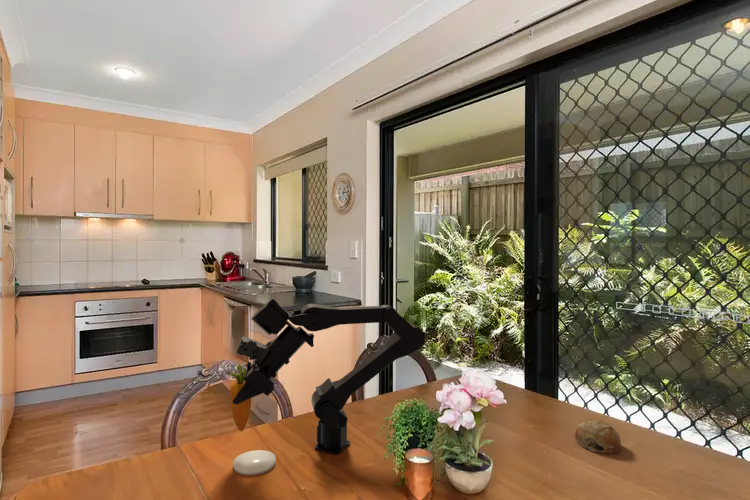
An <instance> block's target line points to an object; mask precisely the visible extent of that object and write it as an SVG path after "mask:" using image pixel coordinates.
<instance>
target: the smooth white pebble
mask: <svg viewBox="0 0 750 500" xmlns="http://www.w3.org/2000/svg"><path fill="white" fill-rule="evenodd" d="M276 459H277V458H276V455H275V454H274V453H273V452H271V451H269V450H261V449H257V450H251V451H246V452H243V453H241V454H239V455H238V456H236V457H235V459H234V460H233V467H232V468H233V471H234V472H235V473H237V474H240V475H244V476H254V475H255V476H256V475H261V474H264V473H266V472H268V471H270V470H272V469H273V468H274V467H275V465H276V462H277V461H276Z"/></svg>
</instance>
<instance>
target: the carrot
mask: <svg viewBox="0 0 750 500" xmlns="http://www.w3.org/2000/svg"><path fill="white" fill-rule="evenodd" d="M236 367H237V371H238V373H234V372H230V373H229V375H230V376H231V377H233V378H234V379H235V380H236V381H234V382H232V383H231V384H230V386H229V387H230V388H229V392H230V393H229V394H230V395H229V396H230V397H229V398H230V407H231V413H232V418H233V421H234V423H235V426H236V428H237V429H238V430H239V432H243V431H244V430H245V428H246V426H247V424H248V421H249V418H250V414H251V410H252V409H251V408H252V398H250V399H248V400H245V401H243V402H241V403H239V404H234V403H233V399H234V398H235V396H236V395H237V394H238V392H239V391H240V389H241V388H242V386H243V385H244V383H245V382H246V381H244V378H245V375H246V372H247V368H242V367H243V366H242V365H241V364H240V365H239V364H238V365H237V366H236Z"/></svg>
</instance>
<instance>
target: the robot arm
mask: <svg viewBox="0 0 750 500" xmlns="http://www.w3.org/2000/svg"><path fill="white" fill-rule="evenodd" d="M250 320H252V321H253V322H254V323H255V324H256V325H258V327H260V328H261V330H263V331H264V332H265V333H267V335H269V336H270V335H277V334H278V335H277V336H276V337H275V339H273V340H271V341H268V342H267V343H266V344H264V343H262V342H260V341H257V340H254V339H252V338H249V337H247V336H242V337H241V339H240V341H239V344H238V345H237V348H236V354H237V355H240V356H244V357H248V360H249V361H247V362H246V363H247V364H246V375H245V378H244V381H246V382H245V383H244V385H243V386H242V388H241V389H240V391H239V392H238V394H237V395H236V396H235V398H234V399H233V403H234V404H239V403H241V402H243V401H245V400H248V399H250V398H251V399H252V398H255V397H257V396H259V395H261V394H264V395H265V396H267V397H268V396H270V394H272V392H273V391H274V390H275V378H276V377H277V376H278V374H277V373H278V372H279V371H280V370H281V369H282V368H283V367H284V365H286V366H288V364H289V363H290V360H291V358H292V357H293V356H294V355H295V354H296V353H297V352H298V350H300V348H301V347H303V345H305V344H307V345H309V346H310V348H313V347H314V338H315V335H314V333H308V332H318V331H324V330H326V329H327V330H328V329H330V328H333V327H336V326H339V325H356V324H357V325H358V324H359V325H360V324H376V323H385V324H386V325H387V326H388V327H389V328H390V329H391V330H392V331H393V332H392V333H391V334H390V336H389V338H388V339H387V341H386V343H385V344H384V345H382V346H381V347H379V349H378V350H376V351H375V352H374V353H372V354H371V355H370V356H369V357H367V358H366V359H365V360H363V361H362V362H361V363H360V364H358V365H357V366H355V368H353V369H352V370H351V371H349V372H348V373H347V374H345V375H344V376H343V377H342V378H340V379H338V380H335V381H332V380H331V378H330V377H328V378H327V379H326V380H325V381H324V382H323V383H322V384H319V386H315V391H313V393H312V395H311V400H310V401H311V405H312V406H311V407H312V409H313V412H314V415H315V416H316V417H317V419H319V420H318V421H317V422H318V423H317V424H318V425H317V426H316V445H314V450H319V451H323V452H327V453H331V454H335V455H338V454H340V453H341V452H342V451H344V449H345V448H347V447H348V446H349V445H350V444H351V441H350V440H348V439H347V438H348V420H349V418H348V417H347V415H346V414H347V413H346V412H345V410H344V407H345V405H346V404H347V403H348V401H349V398H351V396H352V395H353V394H354V393H356V392H357V391H358V390H359V389H360V388H362V387H363V386H365V385H366V384H367V383H368V382H369V381H371V380H372V379H373V378H375V377H376V376H377V375H378V374H379V373H381V372H382V371H384V370H385V369H386V368H387V367H389V366H390V365H391V364H393V363H394V362H395V361H396V360H398V359H401V358H403V357H407V356H410V355H411V354H414V353H416V352H417V351H419V350H421V349H422V348H423V346H424V345H425V343H426V336H425V335H426V334H425V333H424V331H423V330H422V329H421V328H419V327H417V326H415V325H414V324H412V323H410V322H409V321H407V320H406V318H404V317H402V316H401V314H400V313H398V312H397V310H396V309H395V307H393V306H391V305H389V304H383V305H376V306H375V305H369V306H368V305H367V306H347V307H345V306H344V307H334V306H329V305H324V304H317V303H307V304H305V305H304V306H303V307H302V308H301V309H296V310H295V309H294V310H290V311H287V310H286V309H285V308H284V307H282V306H281V305H280V304H279V302H278V301H277V300H276V299H275V298H274V297H271V299H270V300H269V301H267V302H266V303H264V305H261V306H260V308H258V310H256V311H255V313H254V314H253V315H252V316H251V318H250ZM296 326H297V327H296ZM250 361H251V362H250Z"/></svg>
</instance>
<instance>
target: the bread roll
mask: <svg viewBox="0 0 750 500" xmlns="http://www.w3.org/2000/svg"><path fill="white" fill-rule="evenodd" d="M574 439H575V440H576V442H577V444H578V445H580V446H581V447H582V448H584V449H586V450H589V452H595V453H602V454H616V453H618V452H619V451H620V449H621V444H622V443H621V442H622V441H621V436H620V433H619V432H618V431H617V429H615V427H613V426H612V425H611V424H610V423H608V422H607V421H605V420H603V419H600V418H591V419H587V420H586V421H584V422H581V423H579V424H578V426H577V427H576V429H575V432H574Z"/></svg>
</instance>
